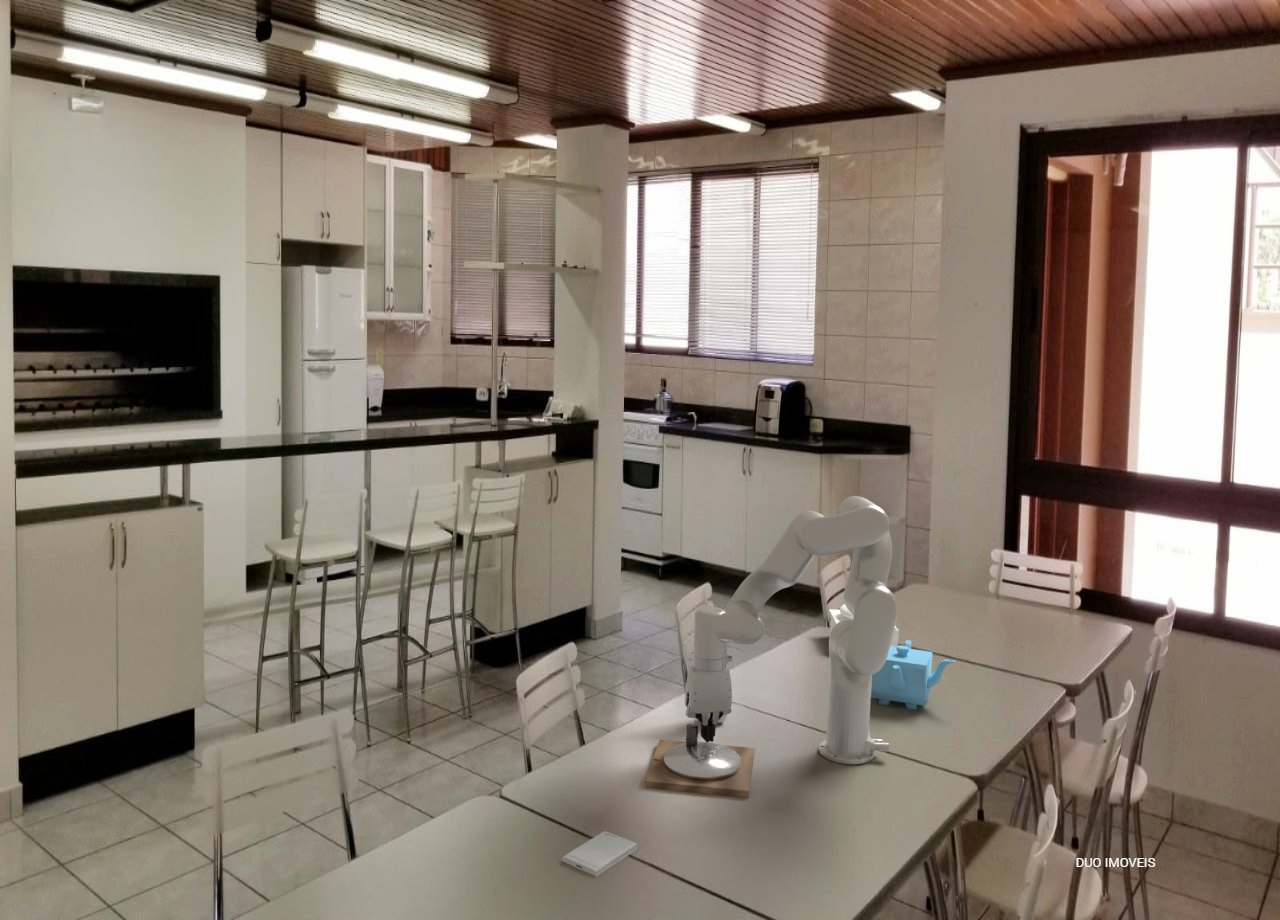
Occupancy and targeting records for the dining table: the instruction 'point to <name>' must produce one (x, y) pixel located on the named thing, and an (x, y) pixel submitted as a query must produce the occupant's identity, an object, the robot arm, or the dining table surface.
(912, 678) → the teakettle
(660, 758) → the dial base
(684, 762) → the dial
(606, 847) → the hard drive
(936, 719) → the dining table surface
